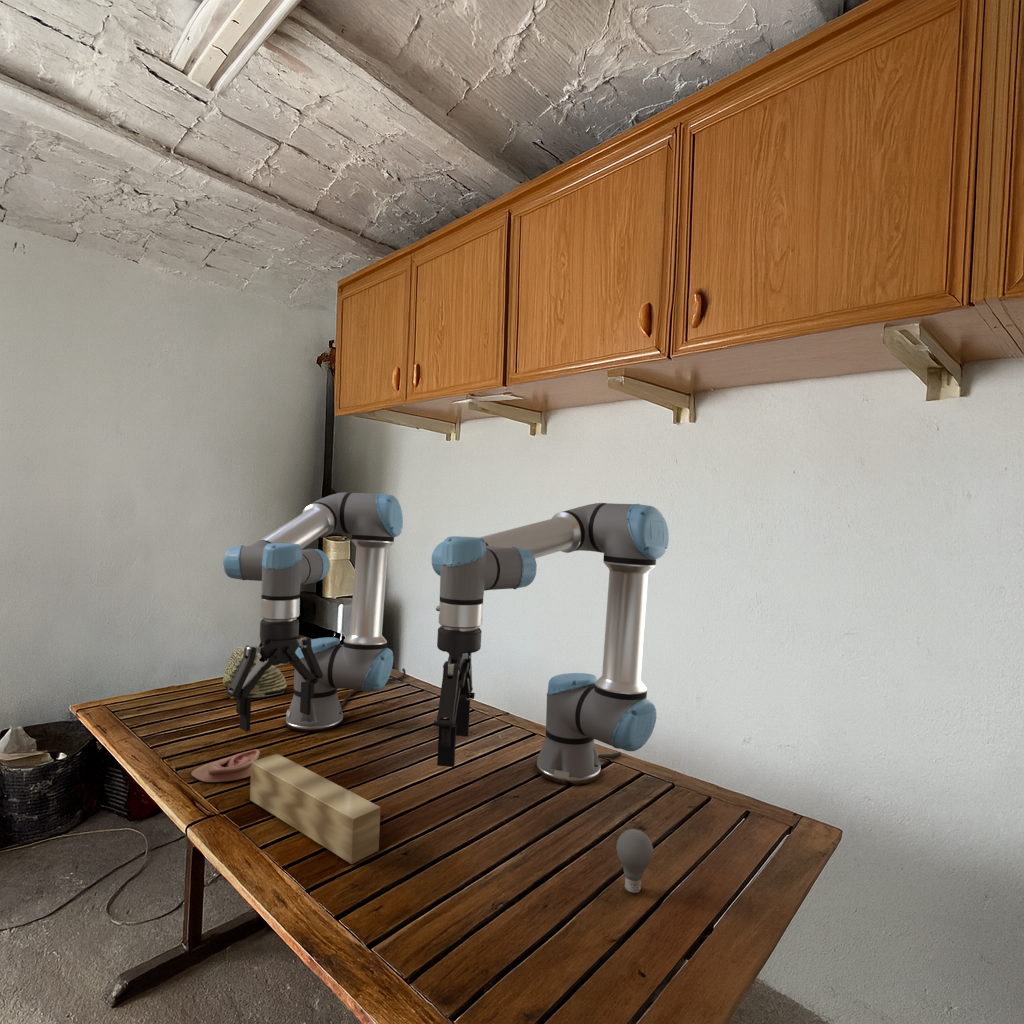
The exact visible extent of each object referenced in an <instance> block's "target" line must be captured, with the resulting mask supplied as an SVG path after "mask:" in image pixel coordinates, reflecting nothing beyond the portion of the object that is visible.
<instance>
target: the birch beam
mask: <svg viewBox="0 0 1024 1024" xmlns="http://www.w3.org/2000/svg"><path fill="white" fill-rule="evenodd" d="M249 801H250V802H252V803H254V804H256V805H257V806H259V807H260V808H262V809H263V810H265V811H266V812H268V813H270V814H271V815H273V816H274V817H276V818H277V819H280V821H283V822H284V823H285V824H287V825H289V826H290V827H292V828H293V829H295V830H297V832H300V833H301V834H303V835H305V836H306V837H308V838H309V839H311V840H312V841H314V842H316V843H317V844H319V845H321V846H322V847H323V848H325V849H327V850H328V851H330V852H332V853H333V854H334V855H336V856H338V857H339V858H341V859H342V860H344V861H345V862H347V863H349V864H350V865H354V864H355V863H357V862H359V861H361V860H363V859H365V858H367V857H369V856H371V855H373V854H375V853H377V852H379V851H380V830H381V829H380V828H381V827H380V826H381V806H379V805H377V804H375V803H374V802H372V801H370V800H368V799H367V798H365V797H361V795H358V794H357V793H354V792H352V791H351V790H349V789H347V788H345V787H344V786H341V785H338V784H337V783H335V782H333V781H331V780H329V779H327V778H325V777H323V776H321V775H319V774H318V773H316V772H314V771H313V770H311V769H308V768H306V767H304V766H302V765H300V764H298V763H297V762H295V761H293V760H291V759H289V758H287V757H285V756H283V755H281V754H279V753H276V754H272V755H269V756H266V757H262V758H258V759H257V760H256V761H252V762H251V776H250V785H249Z"/></svg>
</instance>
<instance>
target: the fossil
mask: <svg viewBox="0 0 1024 1024" xmlns="http://www.w3.org/2000/svg"><path fill="white" fill-rule="evenodd" d="M244 648H245V646H238V647H237V648H236V649H235V650H233V651H232V653H231V656H230V657H229V659H228V660H227V663H226V666H225V668H224V671H223V675H222V676H223V677H222V685H223V687H224V688H225V690H226V691H227V690H228V688H229V686H230V684H231V681H232V679H233V677H234V675H235V673H236V671H237V669H238V667H239V665H240V663H241V660H242V658H243V655H244ZM260 656H261V655H260V653H258V656H257V657H255V661H254V663H253V665H252V667H251V670H250V672H251V671H252V669H253V668H254V666H255V665H256V661H257V660H258V659H259V657H260ZM265 662H266V661H264V663H265ZM250 672H249V673H250ZM248 675H249V674H248ZM287 687H288V686H287V680H286V678H285V676H284V674H283V673H282V672H281V669H279V668H278V667H277V665H275V666H273V665H271V666H270V668H269V669H267V670H266V671H265V672H264V674H263V675H262V677H261V678H260V679H259V681H258V682H257V684H256V685H255V686H254V688H253V689H252V691H251V692H250V693H249V695H248V697H250V698H251V699H252V698H264V697H271V696H275V695H281V694H284V693H285V691H286V689H287ZM229 698H230V699H236V698H235V697H232V696H230V695H229Z"/></svg>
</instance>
